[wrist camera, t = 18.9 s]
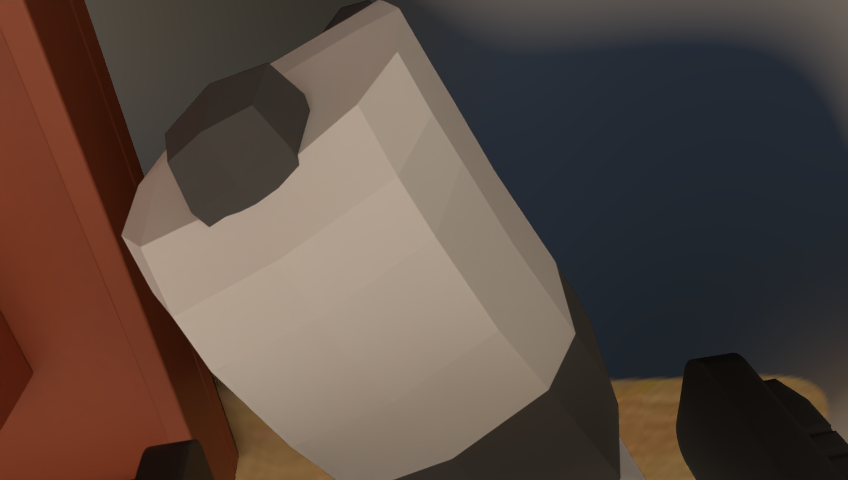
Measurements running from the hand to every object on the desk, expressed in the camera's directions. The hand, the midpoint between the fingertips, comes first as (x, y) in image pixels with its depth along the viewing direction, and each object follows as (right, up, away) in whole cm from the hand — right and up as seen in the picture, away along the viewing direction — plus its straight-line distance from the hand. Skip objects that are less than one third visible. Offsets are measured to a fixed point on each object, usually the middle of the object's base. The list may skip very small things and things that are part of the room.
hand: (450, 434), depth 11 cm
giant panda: (-1, +4, +7) cm, 8 cm away
